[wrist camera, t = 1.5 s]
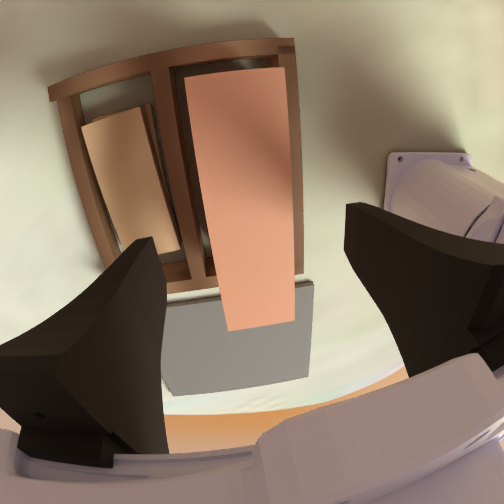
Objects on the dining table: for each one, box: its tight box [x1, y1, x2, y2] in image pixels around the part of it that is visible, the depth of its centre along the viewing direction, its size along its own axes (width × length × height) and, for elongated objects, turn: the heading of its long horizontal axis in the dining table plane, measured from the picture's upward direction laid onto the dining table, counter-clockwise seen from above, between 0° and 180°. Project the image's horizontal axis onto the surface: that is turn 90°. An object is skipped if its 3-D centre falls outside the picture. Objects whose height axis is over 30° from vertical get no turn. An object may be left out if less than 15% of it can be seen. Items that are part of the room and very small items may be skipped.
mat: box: [161, 282, 314, 396], centre depth 29 cm, size 16×14×1 cm
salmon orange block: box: [184, 67, 295, 331], centre depth 16 cm, size 4×12×9 cm, turn 5°
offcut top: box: [81, 105, 182, 254], centre depth 19 cm, size 4×10×1 cm, turn 9°
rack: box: [48, 38, 304, 294], centre depth 19 cm, size 14×16×2 cm
